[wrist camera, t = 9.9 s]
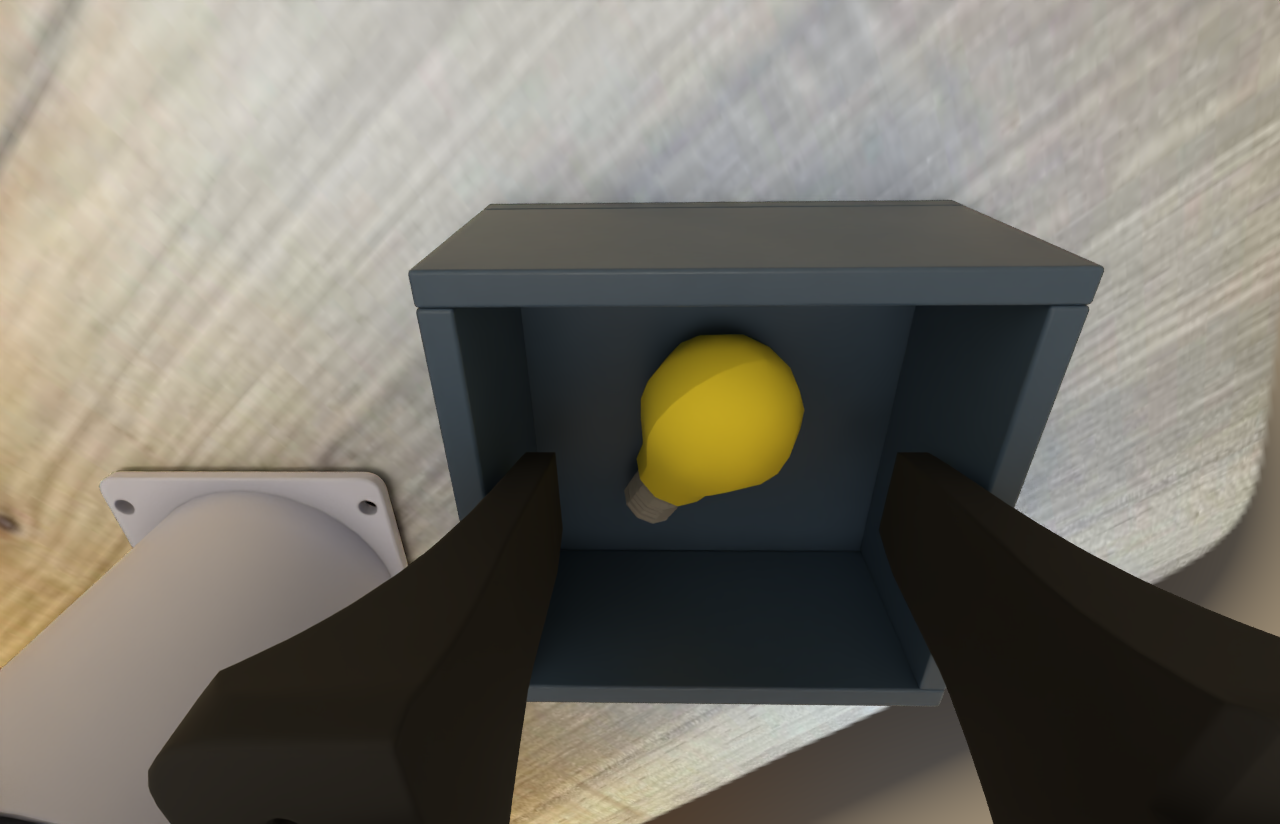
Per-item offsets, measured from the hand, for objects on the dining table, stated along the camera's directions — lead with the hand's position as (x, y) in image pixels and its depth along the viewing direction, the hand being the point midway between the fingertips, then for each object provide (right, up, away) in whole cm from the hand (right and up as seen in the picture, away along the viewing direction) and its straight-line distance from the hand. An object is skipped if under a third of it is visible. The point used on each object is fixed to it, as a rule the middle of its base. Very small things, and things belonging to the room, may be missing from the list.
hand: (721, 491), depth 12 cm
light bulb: (0, +2, +3) cm, 3 cm away
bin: (0, +2, +3) cm, 4 cm away
